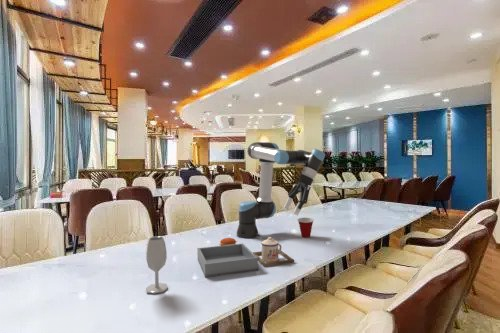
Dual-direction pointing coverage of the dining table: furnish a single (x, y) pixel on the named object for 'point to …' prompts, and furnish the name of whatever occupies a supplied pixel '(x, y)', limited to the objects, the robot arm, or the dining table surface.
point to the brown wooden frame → (289, 260)
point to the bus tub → (226, 260)
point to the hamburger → (227, 241)
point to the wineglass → (156, 262)
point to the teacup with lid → (270, 250)
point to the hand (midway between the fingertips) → (290, 211)
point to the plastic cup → (305, 226)
